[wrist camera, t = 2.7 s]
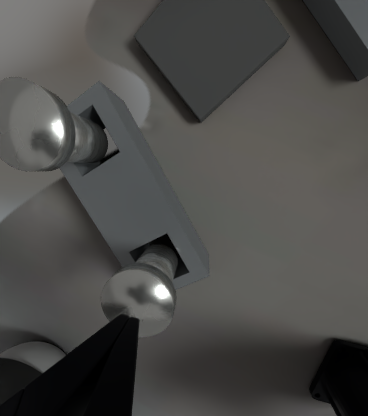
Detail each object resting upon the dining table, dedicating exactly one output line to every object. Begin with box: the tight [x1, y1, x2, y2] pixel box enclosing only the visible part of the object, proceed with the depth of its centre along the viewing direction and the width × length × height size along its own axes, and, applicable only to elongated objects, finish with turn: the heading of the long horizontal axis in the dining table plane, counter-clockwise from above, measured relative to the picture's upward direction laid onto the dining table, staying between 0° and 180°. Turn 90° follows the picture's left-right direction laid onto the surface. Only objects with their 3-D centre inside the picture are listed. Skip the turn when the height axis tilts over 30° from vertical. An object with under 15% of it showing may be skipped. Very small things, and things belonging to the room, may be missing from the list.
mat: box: [134, 0, 290, 122], centre depth 12 cm, size 7×7×1 cm
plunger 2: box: [101, 244, 178, 337], centre depth 10 cm, size 4×4×4 cm
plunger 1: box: [0, 77, 108, 171], centre depth 9 cm, size 4×4×4 cm
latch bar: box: [60, 81, 209, 290], centre depth 13 cm, size 14×5×3 cm, turn 29°
